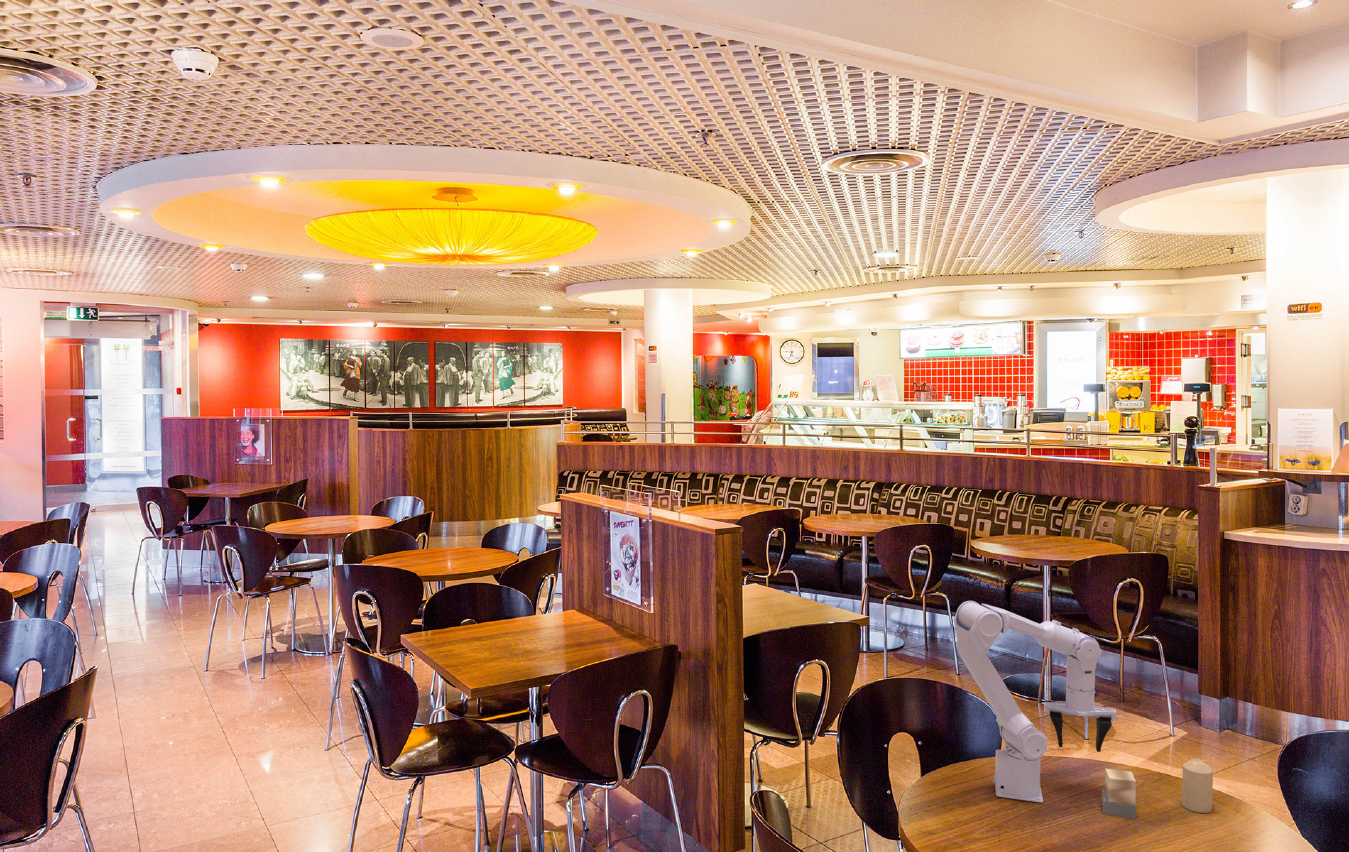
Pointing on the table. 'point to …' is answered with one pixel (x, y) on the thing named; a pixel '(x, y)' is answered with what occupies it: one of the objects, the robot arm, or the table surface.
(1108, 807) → the gray block
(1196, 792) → the candle
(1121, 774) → the beech cube
